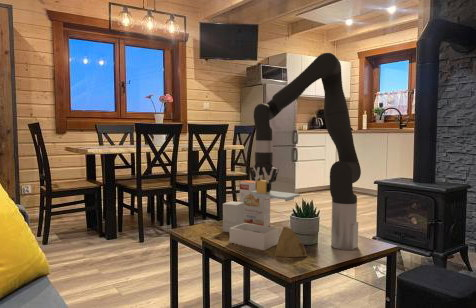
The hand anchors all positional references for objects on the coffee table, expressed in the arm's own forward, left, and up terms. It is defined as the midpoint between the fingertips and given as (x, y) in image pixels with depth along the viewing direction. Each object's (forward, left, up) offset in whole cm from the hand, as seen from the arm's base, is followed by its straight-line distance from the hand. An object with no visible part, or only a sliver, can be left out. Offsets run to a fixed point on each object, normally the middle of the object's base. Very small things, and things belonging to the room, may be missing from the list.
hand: (263, 191), depth 160 cm
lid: (-5, 0, -2) cm, 5 cm away
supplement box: (+14, +2, -19) cm, 24 cm away
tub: (-4, +13, -19) cm, 23 cm away
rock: (-23, +18, -19) cm, 35 cm away
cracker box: (+12, -12, -19) cm, 26 cm away
